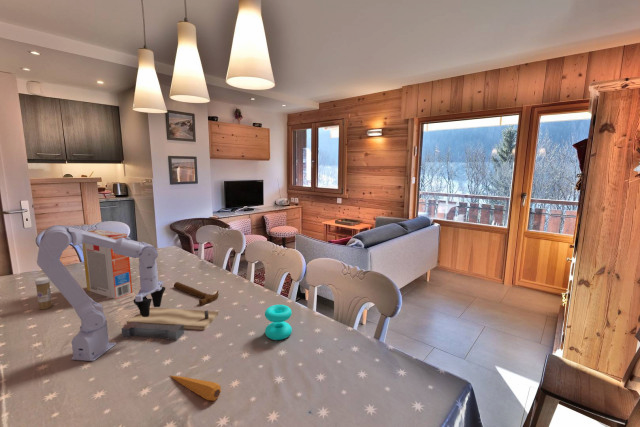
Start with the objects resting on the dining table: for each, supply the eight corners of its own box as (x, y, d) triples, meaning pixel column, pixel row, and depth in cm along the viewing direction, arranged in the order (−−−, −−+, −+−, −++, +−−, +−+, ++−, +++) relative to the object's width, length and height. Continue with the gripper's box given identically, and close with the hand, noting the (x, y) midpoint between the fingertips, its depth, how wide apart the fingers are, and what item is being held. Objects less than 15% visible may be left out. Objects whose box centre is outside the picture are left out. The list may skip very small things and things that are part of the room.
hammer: (168, 290, 150) (202, 306, 133) (167, 284, 150) (202, 300, 132) (189, 283, 159) (224, 298, 142) (189, 278, 159) (224, 292, 142)
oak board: (204, 329, 113) (203, 319, 113) (127, 324, 116) (126, 314, 116) (218, 314, 125) (217, 304, 124) (147, 310, 128) (146, 300, 127)
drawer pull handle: (176, 340, 106) (175, 331, 105) (122, 337, 108) (121, 328, 107) (184, 333, 111) (183, 324, 110) (132, 329, 113) (131, 321, 112)
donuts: (289, 301, 116) (293, 313, 106) (289, 325, 117) (294, 339, 108) (263, 304, 113) (265, 317, 103) (264, 328, 114) (266, 343, 105)
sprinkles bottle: (36, 310, 127) (32, 280, 125) (42, 305, 131) (38, 277, 129) (49, 309, 128) (45, 279, 126) (55, 304, 133) (51, 276, 131)
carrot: (222, 400, 80) (225, 382, 81) (209, 405, 76) (212, 386, 77) (174, 382, 89) (177, 366, 90) (160, 385, 86) (164, 368, 87)
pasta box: (132, 292, 146) (127, 233, 142) (115, 299, 139) (109, 237, 134) (104, 284, 156) (98, 229, 151) (87, 290, 148) (80, 232, 144)
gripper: (148, 284, 101) (151, 321, 103) (169, 270, 115) (171, 302, 117) (127, 284, 101) (131, 321, 103) (151, 269, 115) (154, 302, 117)
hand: (151, 311), depth 110 cm, fingers open, 7 cm apart
